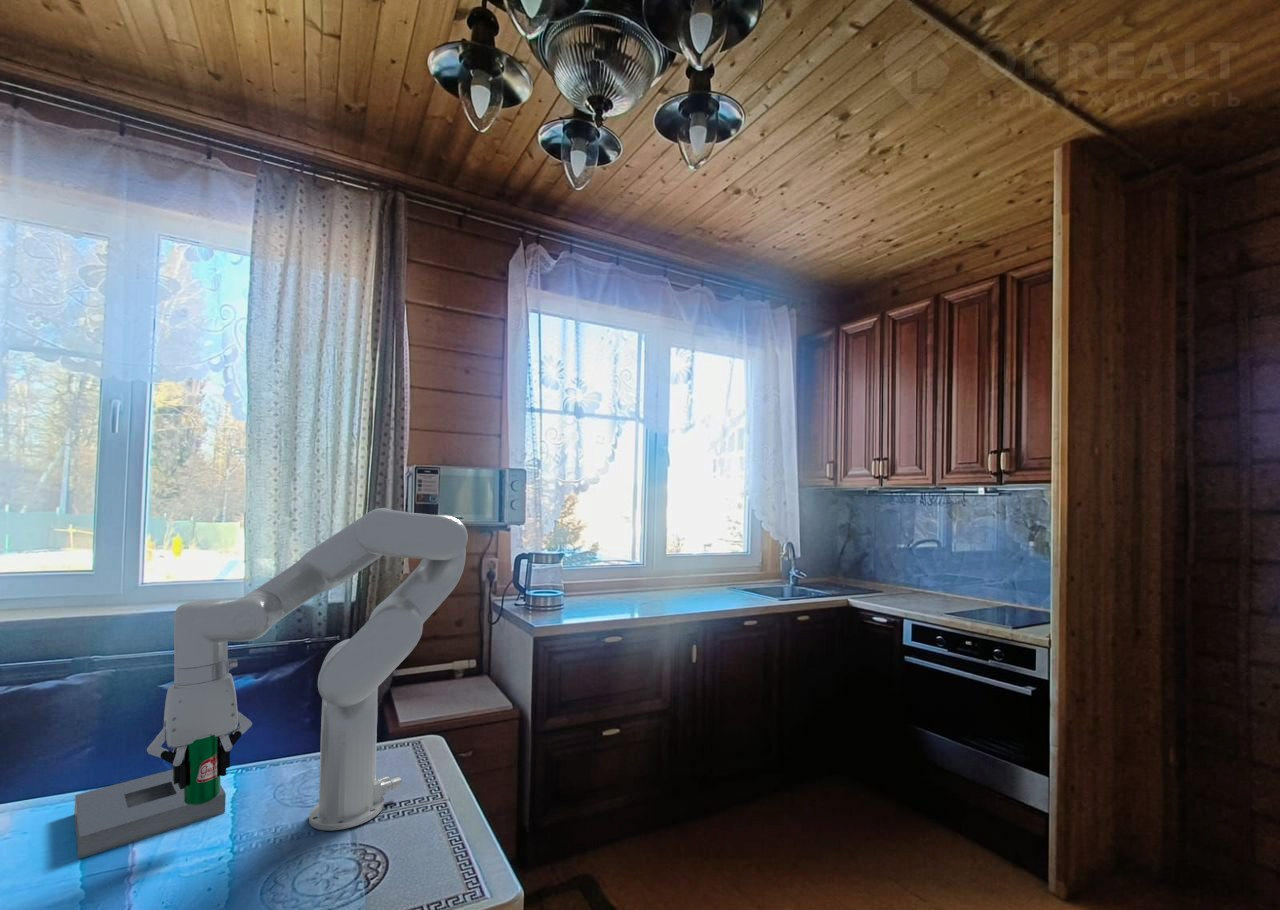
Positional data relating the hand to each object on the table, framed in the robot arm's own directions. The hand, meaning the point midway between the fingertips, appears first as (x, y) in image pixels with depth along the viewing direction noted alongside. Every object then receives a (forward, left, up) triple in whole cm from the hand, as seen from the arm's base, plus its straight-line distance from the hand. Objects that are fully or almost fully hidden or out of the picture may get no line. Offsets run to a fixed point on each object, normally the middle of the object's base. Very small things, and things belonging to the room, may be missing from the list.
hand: (202, 778), depth 102 cm
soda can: (0, 0, -4) cm, 4 cm away
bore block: (+5, -18, -10) cm, 22 cm away
